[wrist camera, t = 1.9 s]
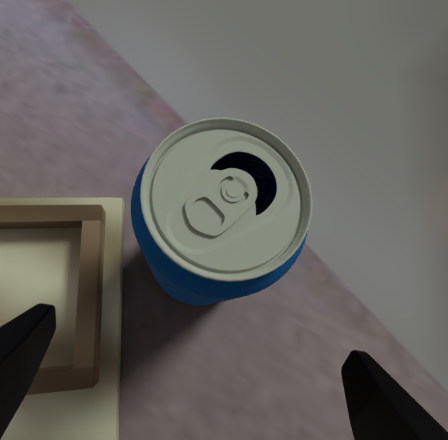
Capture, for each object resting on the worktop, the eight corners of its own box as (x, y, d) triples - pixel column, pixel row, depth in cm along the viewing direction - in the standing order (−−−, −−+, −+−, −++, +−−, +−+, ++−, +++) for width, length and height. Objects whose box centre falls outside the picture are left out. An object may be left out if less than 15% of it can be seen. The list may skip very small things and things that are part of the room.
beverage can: (262, 259, 22) (361, 201, 11) (196, 327, 20) (230, 346, 9) (200, 195, 23) (230, 75, 11) (130, 254, 20) (78, 183, 9)
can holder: (116, 521, 16) (107, 555, 14) (-154, 569, 14) (-218, 620, 12) (124, 202, 21) (118, 189, 19) (-75, 204, 19) (-109, 189, 17)
